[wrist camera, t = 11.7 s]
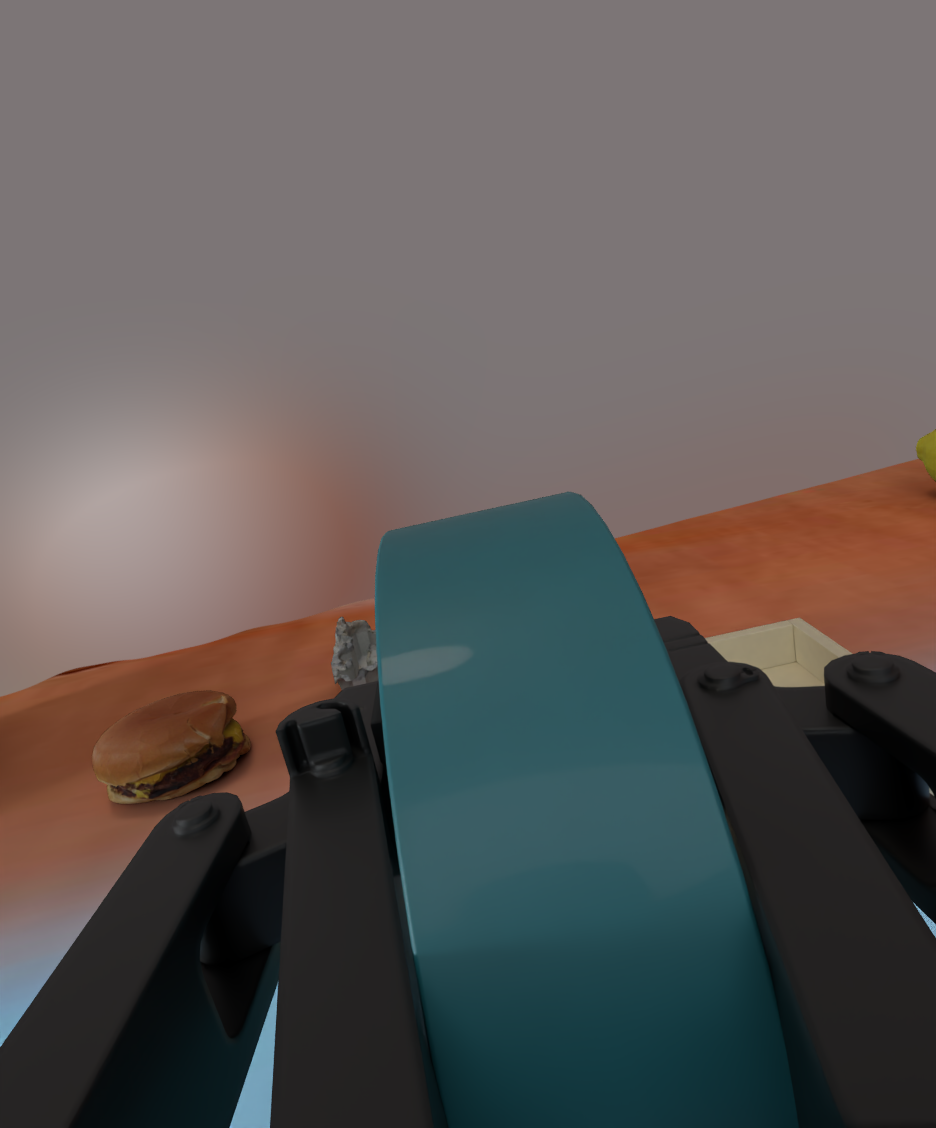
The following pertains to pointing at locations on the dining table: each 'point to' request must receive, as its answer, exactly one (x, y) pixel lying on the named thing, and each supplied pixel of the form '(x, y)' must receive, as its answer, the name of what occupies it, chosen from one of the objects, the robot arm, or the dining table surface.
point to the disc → (564, 839)
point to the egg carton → (354, 654)
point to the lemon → (928, 452)
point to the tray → (782, 652)
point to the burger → (169, 747)
